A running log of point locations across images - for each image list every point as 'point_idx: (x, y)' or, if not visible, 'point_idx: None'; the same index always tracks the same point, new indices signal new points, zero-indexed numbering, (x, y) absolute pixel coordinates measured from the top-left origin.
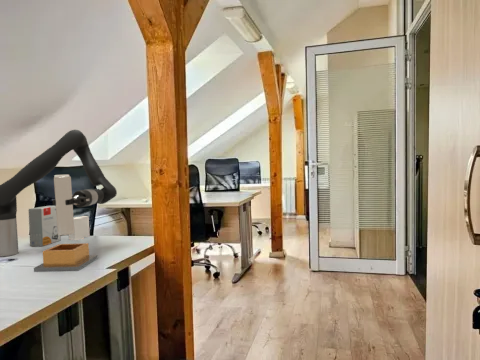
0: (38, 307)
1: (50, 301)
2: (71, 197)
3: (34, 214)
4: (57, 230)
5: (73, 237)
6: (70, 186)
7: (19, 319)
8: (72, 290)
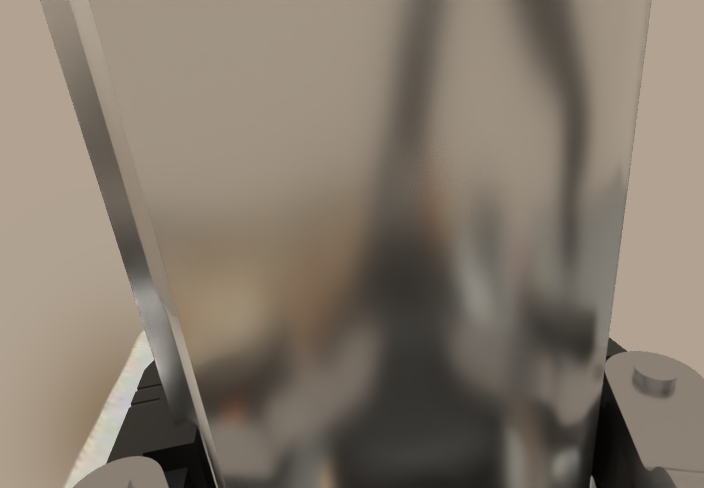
0: (133, 375)
1: (119, 401)
2: (166, 389)
3: None
4: None
5: None
6: (54, 18)
7: (141, 339)
8: (82, 475)
